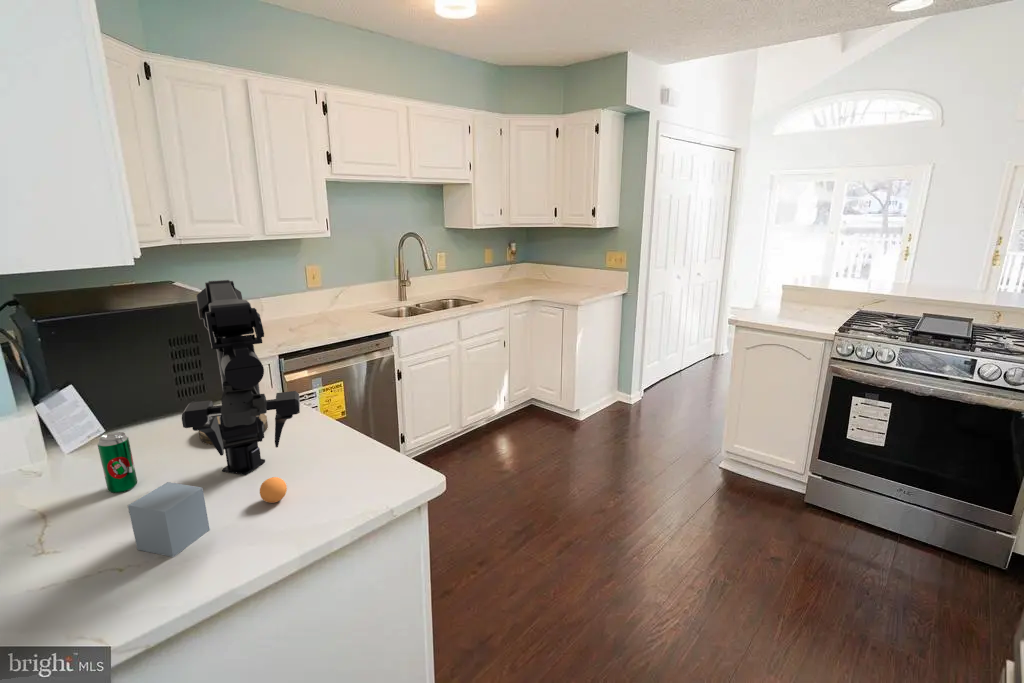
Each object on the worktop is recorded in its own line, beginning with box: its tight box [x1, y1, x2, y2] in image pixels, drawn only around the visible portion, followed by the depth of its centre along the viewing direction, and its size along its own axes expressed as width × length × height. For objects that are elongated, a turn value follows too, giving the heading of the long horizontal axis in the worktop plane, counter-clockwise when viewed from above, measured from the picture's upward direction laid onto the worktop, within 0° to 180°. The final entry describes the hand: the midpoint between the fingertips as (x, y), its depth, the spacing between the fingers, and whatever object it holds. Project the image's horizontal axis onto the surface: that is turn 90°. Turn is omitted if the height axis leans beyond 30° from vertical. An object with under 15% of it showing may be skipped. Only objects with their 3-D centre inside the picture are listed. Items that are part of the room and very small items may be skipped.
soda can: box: [97, 431, 138, 494], centre depth 104 cm, size 5×5×12 cm
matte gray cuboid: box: [127, 481, 211, 558], centre depth 88 cm, size 8×8×9 cm
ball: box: [259, 476, 288, 504], centre depth 101 cm, size 5×5×5 cm
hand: (250, 450), depth 94 cm, fingers open, 9 cm apart
